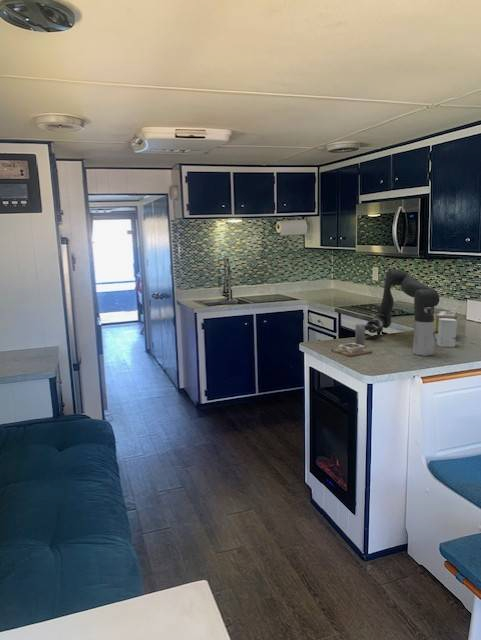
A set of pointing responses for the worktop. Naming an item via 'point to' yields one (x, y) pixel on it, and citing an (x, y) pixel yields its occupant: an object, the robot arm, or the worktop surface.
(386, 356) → the worktop surface
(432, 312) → the coffee box
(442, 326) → the skincare box
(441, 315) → the tea box
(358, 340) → the dark grey cylinder
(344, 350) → the mount board
